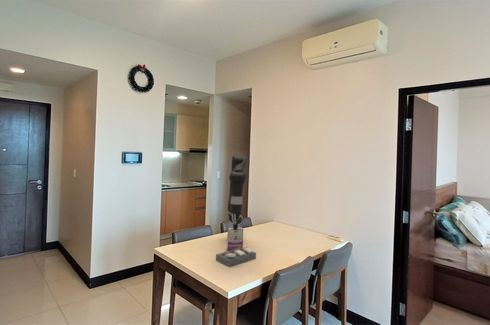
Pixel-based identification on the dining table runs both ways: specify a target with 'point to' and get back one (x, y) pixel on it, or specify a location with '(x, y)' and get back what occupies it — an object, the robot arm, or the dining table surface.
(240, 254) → the rocker
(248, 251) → the rocker
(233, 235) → the candy bar box
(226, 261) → the grey control panel
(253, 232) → the dining table surface
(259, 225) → the dining table surface
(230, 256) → the rocker
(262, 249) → the dining table surface
